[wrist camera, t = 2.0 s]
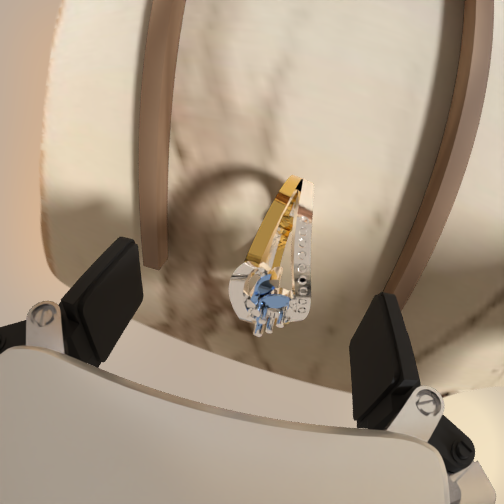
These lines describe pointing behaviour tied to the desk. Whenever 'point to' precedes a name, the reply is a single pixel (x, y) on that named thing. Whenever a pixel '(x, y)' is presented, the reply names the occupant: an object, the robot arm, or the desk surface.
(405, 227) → the desk surface
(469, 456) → the robot arm
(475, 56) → the channel
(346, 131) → the desk surface
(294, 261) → the ring
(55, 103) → the desk surface
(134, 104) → the desk surface
